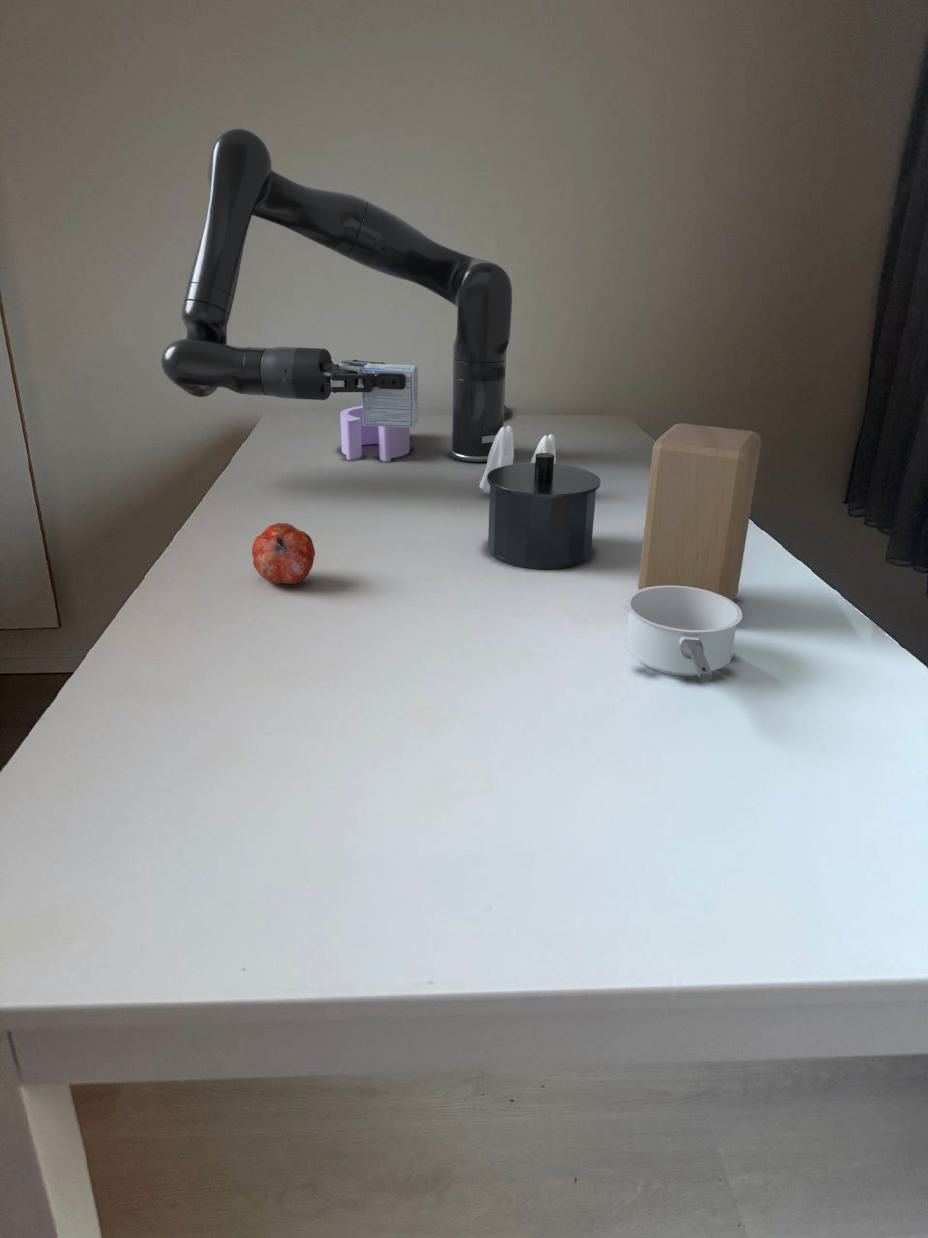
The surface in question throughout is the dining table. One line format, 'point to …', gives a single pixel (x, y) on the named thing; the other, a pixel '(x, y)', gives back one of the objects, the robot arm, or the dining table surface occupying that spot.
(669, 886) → the dining table surface
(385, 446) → the clip
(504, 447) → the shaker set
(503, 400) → the robot arm
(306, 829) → the dining table surface
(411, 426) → the medicine box
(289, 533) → the pomegranate
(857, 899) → the dining table surface
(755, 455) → the wooden block
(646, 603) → the saucepan
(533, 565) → the pot
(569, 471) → the pot lid
